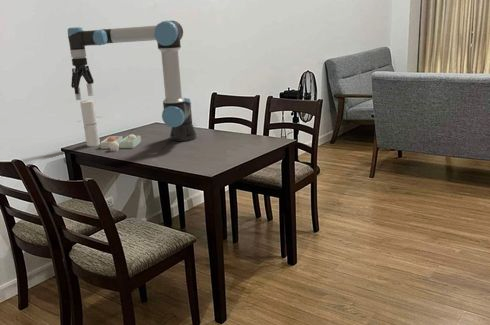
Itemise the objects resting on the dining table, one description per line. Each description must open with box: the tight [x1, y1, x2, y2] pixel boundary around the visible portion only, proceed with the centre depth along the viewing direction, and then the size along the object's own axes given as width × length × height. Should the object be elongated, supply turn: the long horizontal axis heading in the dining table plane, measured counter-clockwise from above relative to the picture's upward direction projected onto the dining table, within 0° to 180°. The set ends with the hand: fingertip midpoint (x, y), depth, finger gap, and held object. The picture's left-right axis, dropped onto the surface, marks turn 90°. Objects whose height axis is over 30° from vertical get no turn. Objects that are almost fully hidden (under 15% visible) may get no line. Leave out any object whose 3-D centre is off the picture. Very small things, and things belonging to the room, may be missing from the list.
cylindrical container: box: [79, 99, 101, 147], centre depth 271 cm, size 7×7×25 cm
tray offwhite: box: [100, 135, 124, 150], centre depth 270 cm, size 8×13×4 cm, turn 174°
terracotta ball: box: [107, 135, 116, 142], centre depth 270 cm, size 5×5×5 cm
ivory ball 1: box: [109, 141, 120, 151], centre depth 259 cm, size 5×5×5 cm
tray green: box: [119, 135, 142, 149], centre depth 269 cm, size 8×13×4 cm, turn 174°
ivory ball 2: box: [127, 134, 137, 142], centre depth 271 cm, size 5×5×5 cm
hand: (85, 97), depth 264 cm, fingers open, 13 cm apart
